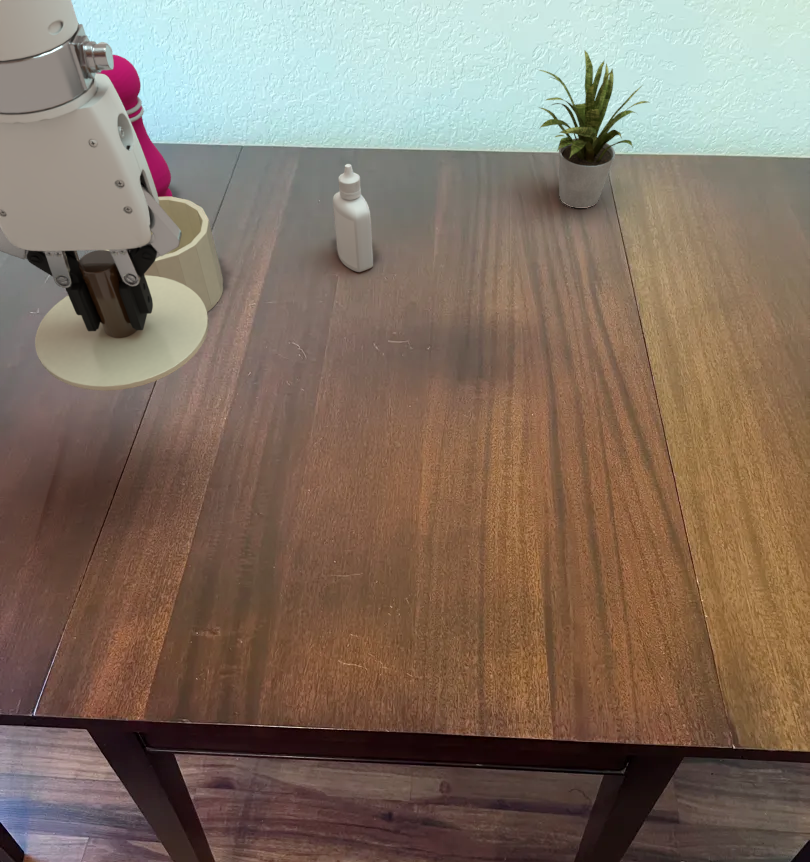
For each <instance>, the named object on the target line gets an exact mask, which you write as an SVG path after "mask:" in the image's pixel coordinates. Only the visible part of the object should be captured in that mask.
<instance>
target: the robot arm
mask: <svg viewBox="0 0 810 862" xmlns="http://www.w3.org/2000/svg"><path fill="white" fill-rule="evenodd" d="M110 47H111V46H110V44H109V43H107V44H98V43H97V42H96V41H95V40H92V41H91V40H90V39H89V37H88V35H86V31H85V27H84V24H82V23H79V21H78V18H77V14H76V12H75V7H74V5H73V1H72V0H0V252H1V253H4V254H7V255H10V256H13V257H16V258H18V259H21V260H27V261H28V262H29V263H30V264H31V265H32V266H34V267H36V268H37V269H39V270H41V271H43V272H44V273H46V274H48V275H49V276H51V277H52V278H53V281H54V283H55V284H56V285H57V286H58V287H60V288H62V289H65V291H66V293H67V296H69V298H70V300H71V303H72V305H73V307H74V310H75V312H76V314H77V315H81V316H82V318H83V321H84V323H85V326H86V328H87V330H88V331H96V330H97V329H99V325H100V319H99V317H98V314H97V312H96V309H95V307H94V304H93V302H92V299H91V297H90V294H89V292H88V289H87V287H86V284H85V282H84V279H83V277H82V274H81V272H80V269H79V267H78V263H79V260H80V257H79V254H78V251H97V250H109V251H110V253H111V255H112V258H113V260H114V262H115V264H116V266H117V269H118V271H119V273H120V277H121V282H120V286H119V292H120V295H121V298H122V300H123V303H124V306H125V309H126V311H127V314H128V317H129V320H130V322H131V325H132V328H135V330H143V329H144V325H145V321H146V317H147V314H151V312H152V309H153V301H152V297H151V294H150V291H149V288H148V285H147V281H146V278H145V275H144V274H145V272H146V271H147V270H148V269H149V267H150V266H151V265H152V264H153V263H154V261H155V260H156V258H158V257H160V256H163V255H165V254H167V253H169V252H170V251H172V250H174V249H176V248H178V247H179V244H180V240H181V236H182V232H181V230H180V229H179V228H178V226H177V225H176V224H175V223H174V222H173V221H172V219H171V218H170V217H169V216H168V215H167V214H166V212H165V211H164V210H163V209H162V208H161V207H160V205H159V199H158V194H157V191H156V187H155V184H154V181H153V178H152V175H151V172H150V170H149V167H148V164H147V161H146V159H145V156H144V153H143V151H142V148H141V145H140V143H139V140H138V138H137V135H136V133H135V131H134V128H133V126H132V124H131V121H130V119H129V117H128V114H127V112H126V110H125V108H124V106H123V104H122V102H121V99H120V97H119V95H118V93H117V92H116V90H115V88H114V86H113V84H112V82H111V80H110V79H109V77H107V76H106V75H105V74H98V73H101V71H102V70H113V67H114V62H113V55H114V54H113V50H112V51H111V49H112V47H111V48H110ZM151 232H152V233H153V234H152V235H151Z"/></svg>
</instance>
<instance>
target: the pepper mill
mask: <svg viewBox="0 0 810 862" xmlns="http://www.w3.org/2000/svg"><path fill="white" fill-rule="evenodd" d="M97 44H108V42H105V41H100V42H98V43H97ZM110 48H111V51H112V52H113V49H112V47H111V46H110ZM112 55H113V62H114V67H113V70H102V71H101V73H98V74H105V75H106V76H107V77H109V79H110V80H111V82H112V84H113V86H114V88H115V90H116V92H117V93H118V95H119V97H120V99H121V102H122V104H123V106H124V108H125V110H126V112H127V114H128V117H129V119H130V121H131V124H132V126H133V128H134V131H135V133H136V135H137V138H138V140H139V143H140V145H141V148H142V151H143V153H144V156H145V159H146V161H147V164H148V167H149V170H150V172H151V175H152V178H153V181H154V184H155V187H156V191H157V194H158V197H167V196H171V197H174V196H173V193H172V190H171V189H170V188H169V187H170V184H171V180H172V175H171V171H170V168H169V166H168V162H167V161H166V160H165V158H164V156H163V155H162V153H161V152H160V151H159V150H158V148H157V147H156V146H155V144H154V143H153V141H152V140H151V138H150V136H149V134H148V131H147V129H146V126H145V124H144V119H143V115H144V113H145V109H144V107H143V105H142V104H143V103H142V99H141V98H140V97H139V94H140V92H141V87H142V85H141V78H140V76H139V73H138V71H137V69H136V67H135V66H134V65H133V64H132V63H131V61H130V60H129V59H126V58H125V57H123V56H120V55H117V54H112Z"/></svg>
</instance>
